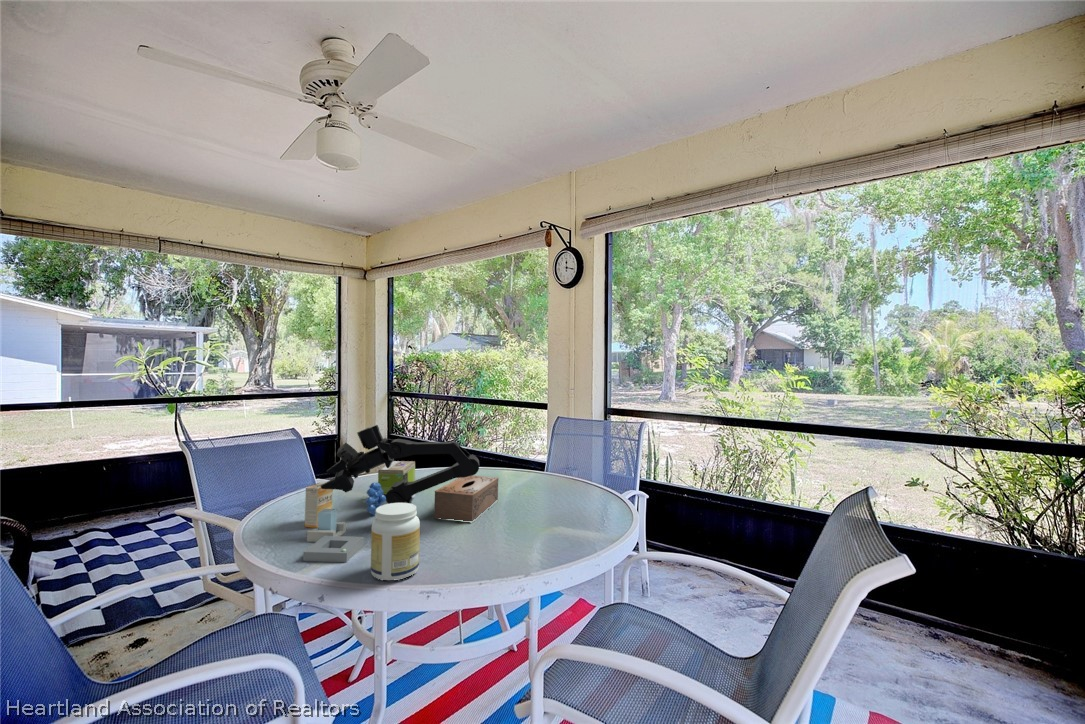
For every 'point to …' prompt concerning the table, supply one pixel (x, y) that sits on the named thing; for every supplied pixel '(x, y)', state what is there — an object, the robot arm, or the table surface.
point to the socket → (333, 549)
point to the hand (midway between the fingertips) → (324, 479)
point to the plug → (327, 519)
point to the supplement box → (316, 503)
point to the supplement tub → (395, 541)
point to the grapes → (374, 497)
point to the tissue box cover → (465, 498)
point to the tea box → (395, 475)
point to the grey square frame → (326, 532)
